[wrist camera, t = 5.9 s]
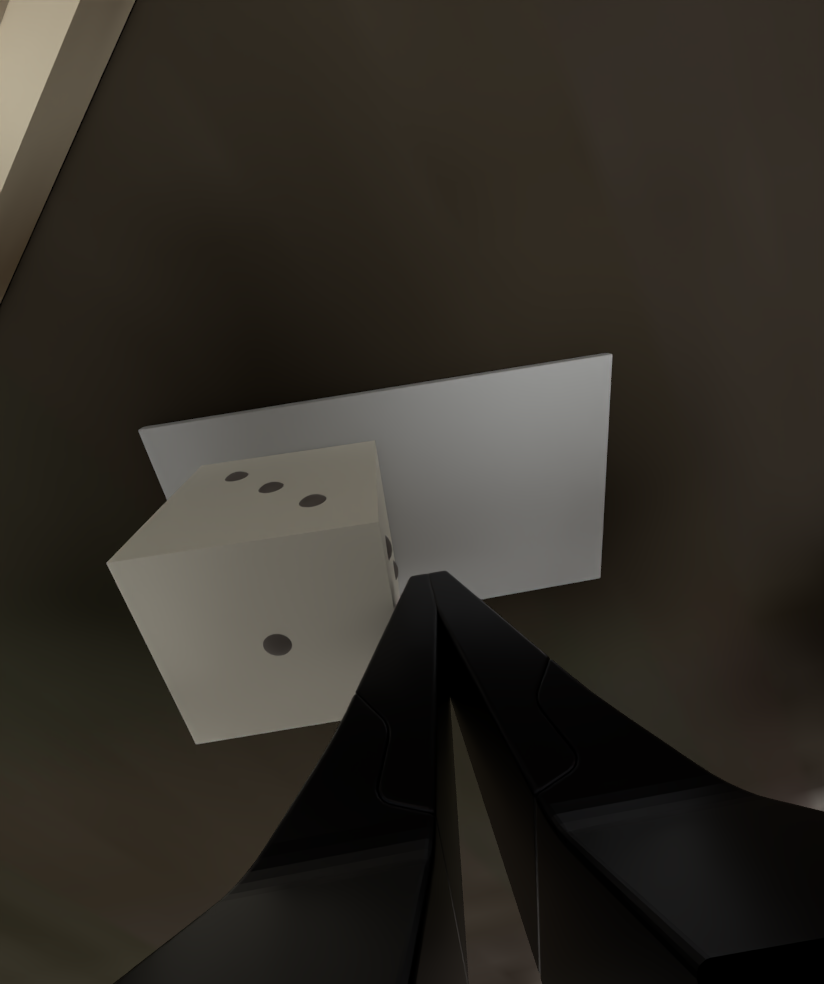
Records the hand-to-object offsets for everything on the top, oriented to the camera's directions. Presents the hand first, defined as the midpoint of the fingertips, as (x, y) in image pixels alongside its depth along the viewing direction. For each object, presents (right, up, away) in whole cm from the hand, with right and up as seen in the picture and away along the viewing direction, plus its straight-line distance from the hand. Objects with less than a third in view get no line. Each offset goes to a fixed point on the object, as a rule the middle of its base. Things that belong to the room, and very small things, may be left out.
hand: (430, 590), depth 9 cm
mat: (-1, +2, +4) cm, 4 cm away
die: (-3, +1, +3) cm, 5 cm away
